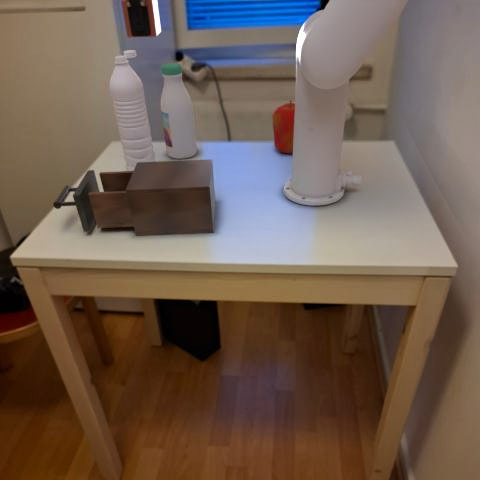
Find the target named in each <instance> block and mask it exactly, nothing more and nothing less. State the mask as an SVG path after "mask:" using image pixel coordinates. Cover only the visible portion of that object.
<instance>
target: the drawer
mask: <svg viewBox="0 0 480 480" xmlns="http://www.w3.org/2000/svg"><path fill="white" fill-rule="evenodd" d="M98 174H99V175H98V176H99V179H100V182H101V186H102V187H101V188H102V190H103V191H100V187H99V183H98V180H97V177H96V173H95V169H89V170H87V171H86V173H85V174H84V175H83V178H82V179H81V181H80V183H79V184H78V186H77V187H71V186H70V185H64V186H63V188H62V190H61V191H60V193H59V194H58V195H57V197H56V198H55V200H54V202H53V204H52V205H53V208H54V209H56V210H60V209H61V208H62V207H75V208H76V211H77V214H78V217H79V221H80V224H81V227H82V230H83V232H84V233H87V232H88V233H90V232H91V231H92V229H93V227H94V224H95V223H96V227H97V229H105V228H106V229H108V228H127V227H128V228H129V227H131V228H132V227H133V228H134V224H133V220H132V216H131V211H130V207H129V202H128V198H127V193H126V188H127V186H128V183H129V181H130V179H131V176H132V174H133V171H127V170H122V171H100V172H99V173H98ZM70 193H73V194H72V197H73V201H66V200H67V198H68V197H69V196H70Z"/></svg>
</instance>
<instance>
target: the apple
mask: <svg viewBox="0 0 480 480" xmlns="http://www.w3.org/2000/svg"><path fill="white" fill-rule="evenodd" d="M294 116H295V102H293V101H292V99H290V101H289V102H288V103H284V104H282V105H280V106H277V107H276V108H275V109H274V111H273V113H272V117H271V118H272V130H273V143H274V144H273V145H274V147H275V148H276V149H277V150H278V151H279V152H280V153H283V154H289V155H291V154H292V155H293V138H294Z"/></svg>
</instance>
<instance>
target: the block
mask: <svg viewBox="0 0 480 480" xmlns="http://www.w3.org/2000/svg"><path fill="white" fill-rule="evenodd" d="M145 6H147V7H148V14H149V21H150V29H151V35H150V36H132V34H131V28H130V22H129V16H128V10H127V3H126V0H121V8H122V13H123V21H124V26H125V32H126V37H127V38H152V37H153V38H155V37H158V36H159V34H160V33H161V32H162V28H161V27H162V26H161V20H160V11H159V3H158V0H145Z"/></svg>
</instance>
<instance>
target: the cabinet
mask: <svg viewBox="0 0 480 480" xmlns="http://www.w3.org/2000/svg"><path fill="white" fill-rule="evenodd" d="M215 192H216V191H215V178H214V166H213V159H190V160H164V161H163V160H162V161H160V160H159V161H156V162H137V164H136V166H135V169H134V171H133V174H132V176H131V179H130V181H129V183H128V186H127V188H126V193H127V198H128V202H129V207H130V211H131V216H132V220H133V224H134V227H133V229H134V233H135V236H137V237H138V236H139V237H140V236H161V235H162V236H163V235H186V234H190V235H191V234H212V233H215V217H216V193H215Z"/></svg>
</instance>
